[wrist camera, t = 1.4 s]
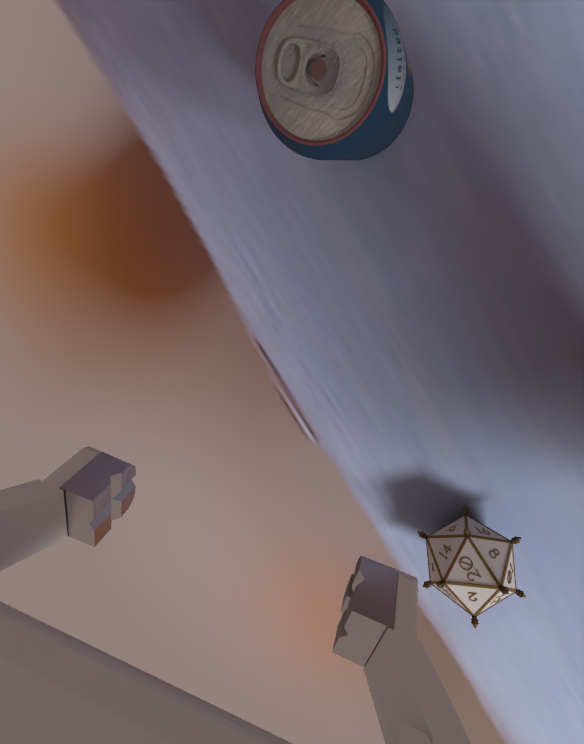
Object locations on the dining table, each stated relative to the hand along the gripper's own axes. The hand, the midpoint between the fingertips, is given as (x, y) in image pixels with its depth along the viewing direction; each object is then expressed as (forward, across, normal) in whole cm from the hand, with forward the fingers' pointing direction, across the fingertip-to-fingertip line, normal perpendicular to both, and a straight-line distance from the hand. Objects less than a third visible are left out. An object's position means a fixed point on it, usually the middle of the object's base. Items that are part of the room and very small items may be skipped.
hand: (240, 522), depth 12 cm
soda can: (+26, +4, -12) cm, 28 cm away
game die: (+26, -16, +20) cm, 36 cm away
